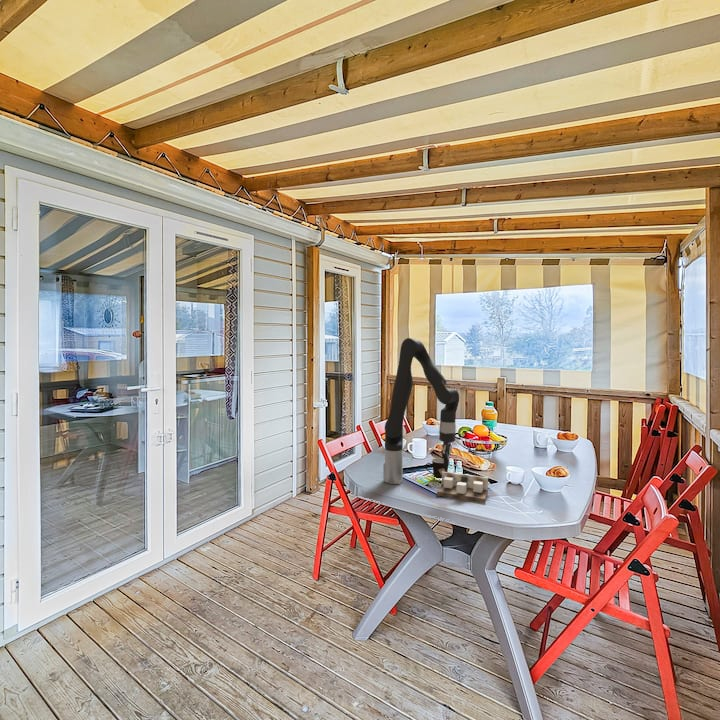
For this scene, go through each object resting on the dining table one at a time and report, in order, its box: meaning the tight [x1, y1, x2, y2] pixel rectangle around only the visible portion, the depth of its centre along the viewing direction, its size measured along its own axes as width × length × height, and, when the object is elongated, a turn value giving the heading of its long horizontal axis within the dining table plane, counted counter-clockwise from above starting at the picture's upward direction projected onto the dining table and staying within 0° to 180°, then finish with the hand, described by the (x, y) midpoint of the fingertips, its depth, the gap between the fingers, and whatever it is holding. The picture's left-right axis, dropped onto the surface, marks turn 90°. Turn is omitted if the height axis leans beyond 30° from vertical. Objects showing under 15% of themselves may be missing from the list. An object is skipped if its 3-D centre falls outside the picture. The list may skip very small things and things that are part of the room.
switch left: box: [444, 477, 454, 489], centre depth 202 cm, size 4×4×4 cm
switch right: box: [473, 481, 483, 493], centre depth 197 cm, size 4×4×4 cm
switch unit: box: [436, 471, 489, 504], centre depth 198 cm, size 22×12×8 cm, turn 67°
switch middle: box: [456, 482, 467, 494], centre depth 195 cm, size 4×4×4 cm
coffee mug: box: [424, 457, 449, 478], centre depth 220 cm, size 12×9×10 cm
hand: (446, 466), depth 197 cm, fingers closed
